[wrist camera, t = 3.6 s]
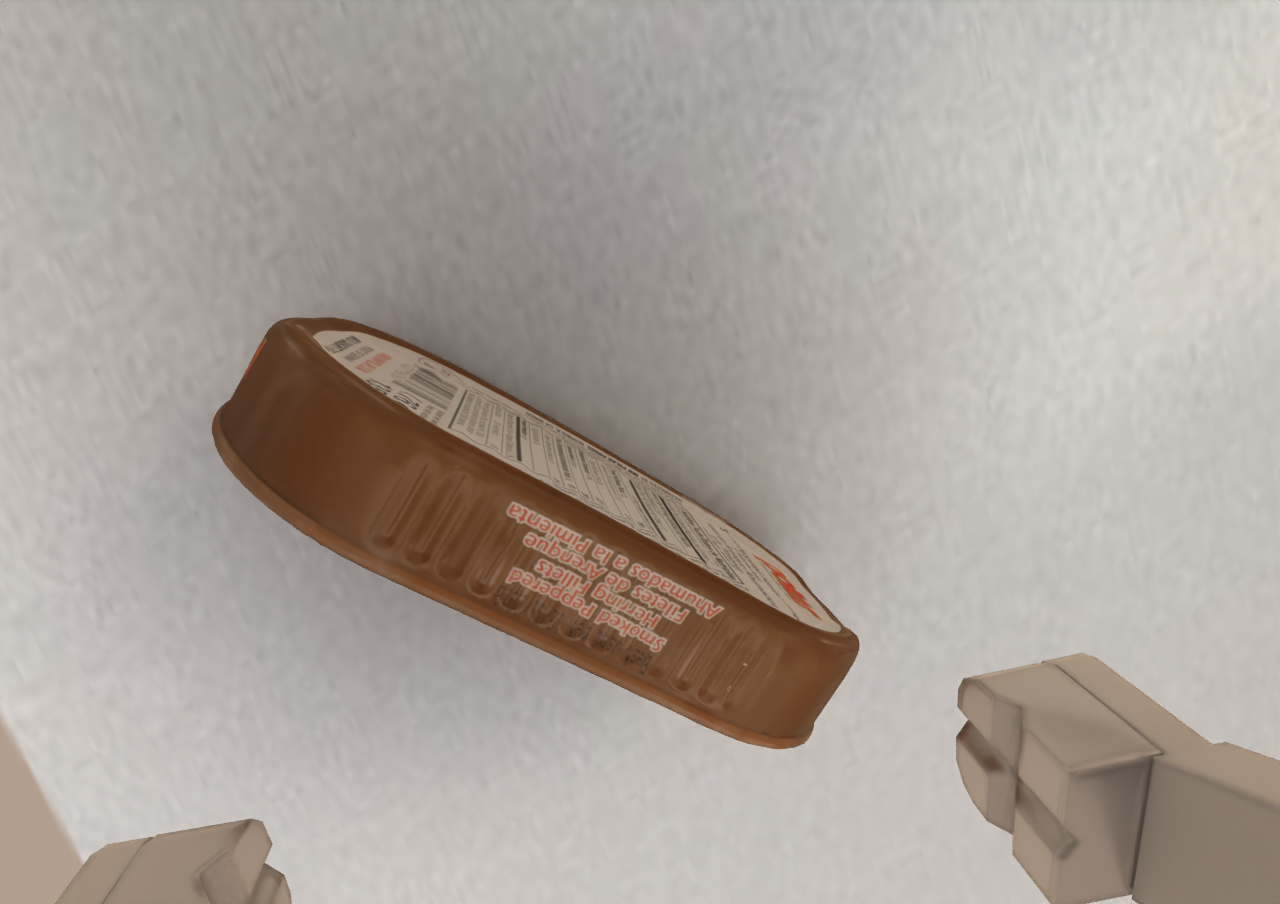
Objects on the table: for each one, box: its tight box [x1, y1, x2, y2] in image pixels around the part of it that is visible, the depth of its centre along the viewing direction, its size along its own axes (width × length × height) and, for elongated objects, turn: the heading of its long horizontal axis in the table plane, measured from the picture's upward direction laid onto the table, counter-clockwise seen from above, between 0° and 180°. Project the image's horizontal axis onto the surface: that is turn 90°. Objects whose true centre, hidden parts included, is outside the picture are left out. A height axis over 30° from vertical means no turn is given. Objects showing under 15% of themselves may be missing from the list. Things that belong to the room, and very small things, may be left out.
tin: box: [212, 318, 860, 749], centre depth 16 cm, size 15×3×8 cm, turn 57°
